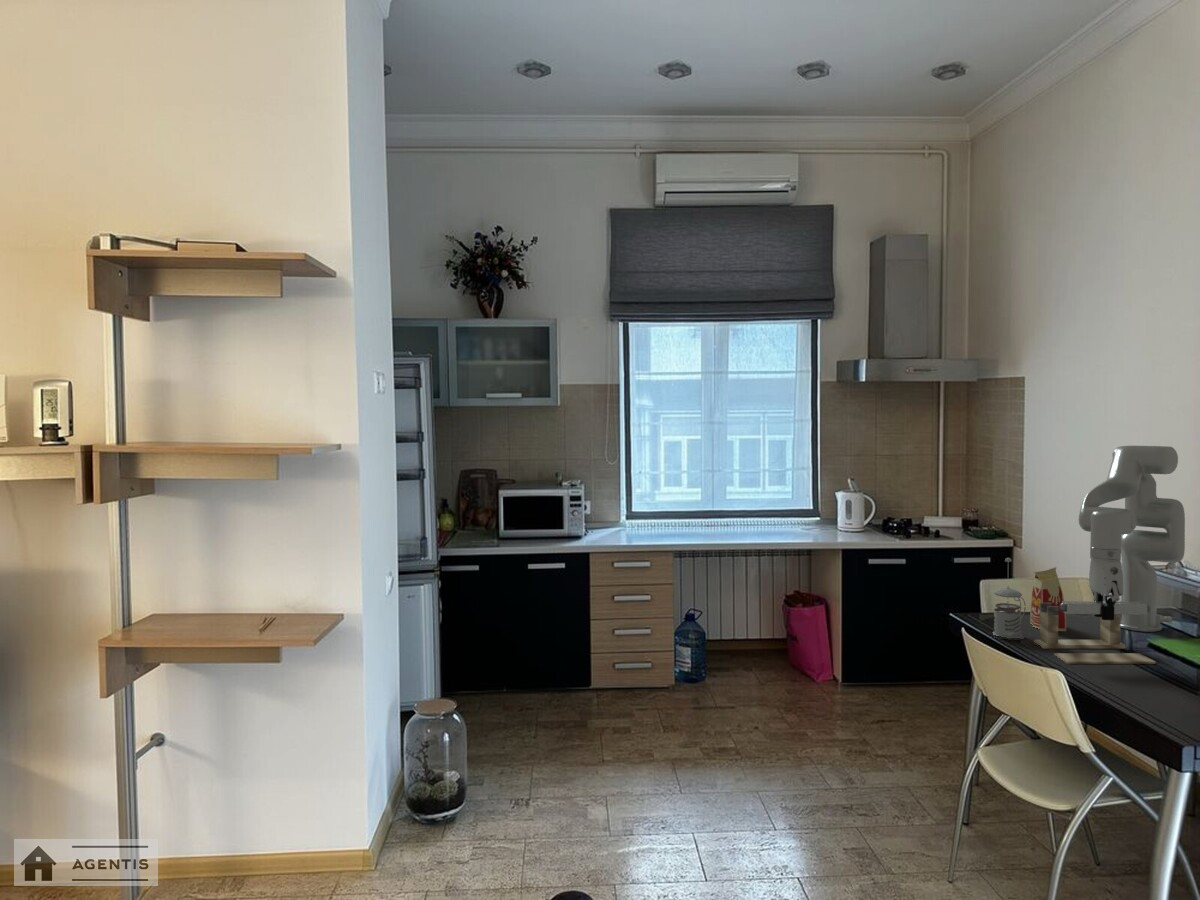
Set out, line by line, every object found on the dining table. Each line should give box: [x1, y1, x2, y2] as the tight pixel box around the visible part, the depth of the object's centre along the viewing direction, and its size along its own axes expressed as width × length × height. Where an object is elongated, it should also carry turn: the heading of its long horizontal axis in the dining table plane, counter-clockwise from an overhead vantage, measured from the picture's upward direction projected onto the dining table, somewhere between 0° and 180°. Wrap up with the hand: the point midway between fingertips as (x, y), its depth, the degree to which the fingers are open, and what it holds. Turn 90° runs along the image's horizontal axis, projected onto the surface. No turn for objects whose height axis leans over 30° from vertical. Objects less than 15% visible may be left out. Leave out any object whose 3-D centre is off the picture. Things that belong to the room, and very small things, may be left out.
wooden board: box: [1053, 652, 1157, 665], centre depth 244 cm, size 24×8×1 cm, turn 87°
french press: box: [992, 557, 1026, 638], centre depth 269 cm, size 10×12×25 cm
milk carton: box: [1029, 566, 1067, 632], centre depth 278 cm, size 9×9×20 cm
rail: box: [1060, 600, 1150, 615], centre depth 243 cm, size 24×3×3 cm, turn 87°
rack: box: [1033, 603, 1127, 649], centre depth 257 cm, size 24×6×12 cm, turn 87°
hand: (1104, 617), depth 243 cm, fingers closed on rail, 3 cm apart
